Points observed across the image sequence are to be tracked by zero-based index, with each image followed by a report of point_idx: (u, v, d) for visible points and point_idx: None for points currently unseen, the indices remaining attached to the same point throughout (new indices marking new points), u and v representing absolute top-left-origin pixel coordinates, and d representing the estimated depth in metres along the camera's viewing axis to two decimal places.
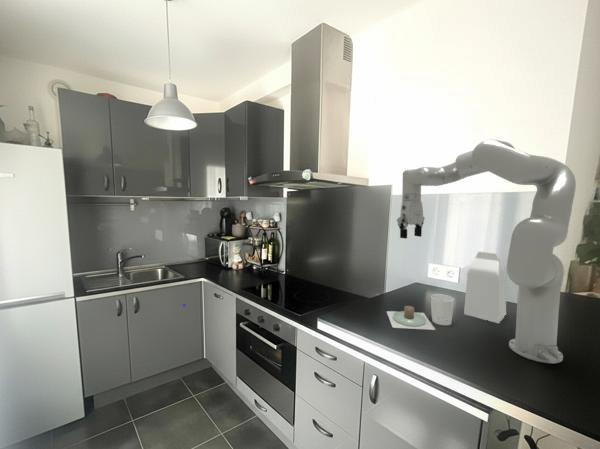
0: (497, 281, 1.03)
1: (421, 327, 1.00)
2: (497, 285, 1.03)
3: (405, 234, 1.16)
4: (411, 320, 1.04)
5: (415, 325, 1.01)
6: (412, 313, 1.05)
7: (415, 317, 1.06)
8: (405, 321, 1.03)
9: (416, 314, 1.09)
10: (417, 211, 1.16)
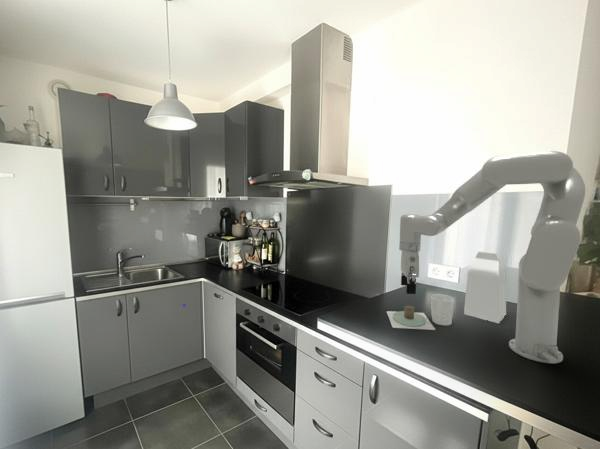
0: (497, 281, 1.03)
1: (421, 327, 1.00)
2: (497, 285, 1.03)
3: (414, 289, 1.01)
4: (411, 320, 1.04)
5: (415, 325, 1.01)
6: (412, 313, 1.05)
7: (415, 317, 1.06)
8: (405, 321, 1.03)
9: (416, 314, 1.09)
10: None
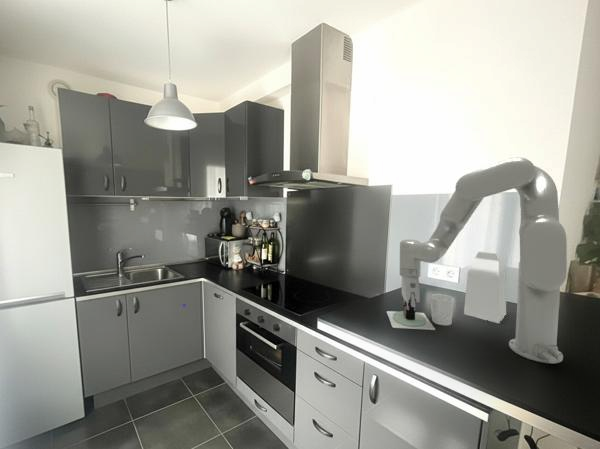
0: (497, 281, 1.03)
1: (421, 327, 1.00)
2: (497, 285, 1.03)
3: (413, 315, 1.04)
4: (411, 320, 1.04)
5: (415, 325, 1.01)
6: None
7: (415, 317, 1.06)
8: (405, 321, 1.03)
9: (416, 314, 1.09)
10: None
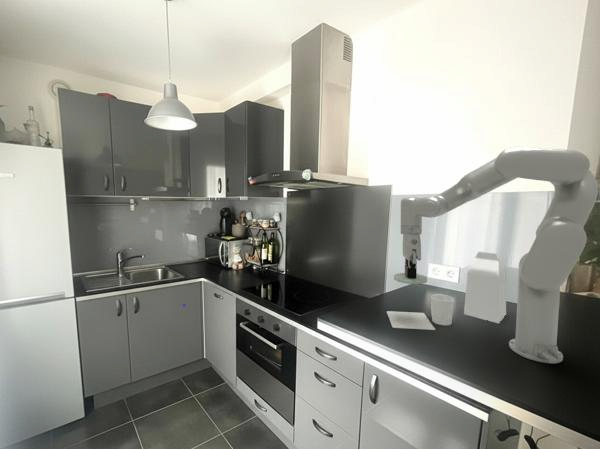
0: (497, 281, 1.03)
1: (421, 327, 1.00)
2: (497, 285, 1.03)
3: (415, 274, 1.02)
4: None
5: (416, 282, 0.99)
6: None
7: (416, 276, 1.05)
8: (406, 279, 1.02)
9: (417, 274, 1.08)
10: None
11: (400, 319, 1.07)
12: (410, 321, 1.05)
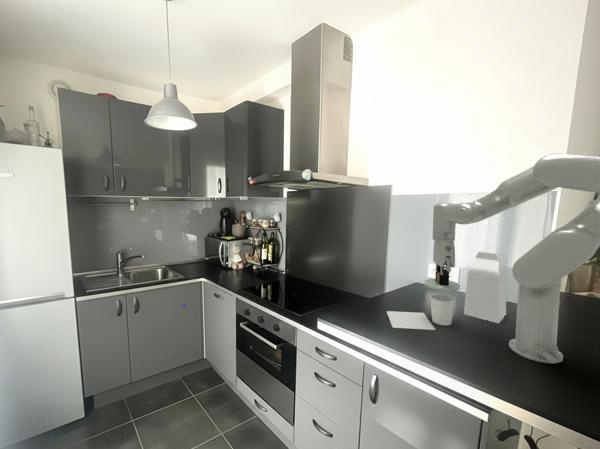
0: (497, 281, 1.03)
1: (421, 327, 1.00)
2: (497, 285, 1.03)
3: (447, 280, 1.01)
4: (445, 285, 1.01)
5: (450, 289, 0.98)
6: None
7: None
8: (439, 286, 1.00)
9: None
10: None
11: (400, 319, 1.07)
12: (410, 321, 1.05)
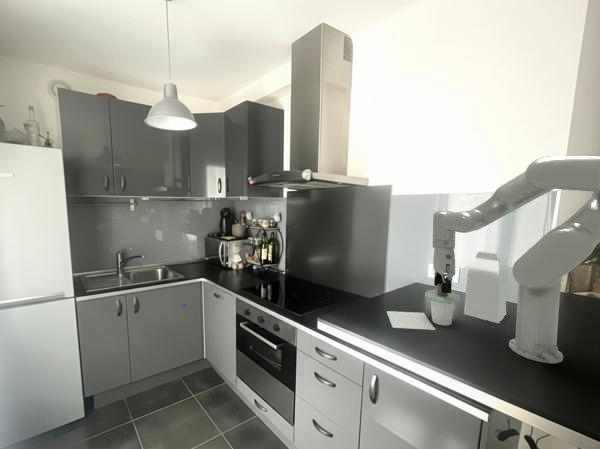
0: (497, 281, 1.03)
1: (421, 327, 1.00)
2: (497, 285, 1.03)
3: (450, 288, 0.99)
4: (445, 297, 1.01)
5: (451, 302, 0.98)
6: None
7: (448, 295, 1.04)
8: (440, 298, 1.00)
9: None
10: None
11: (400, 319, 1.07)
12: (410, 321, 1.05)
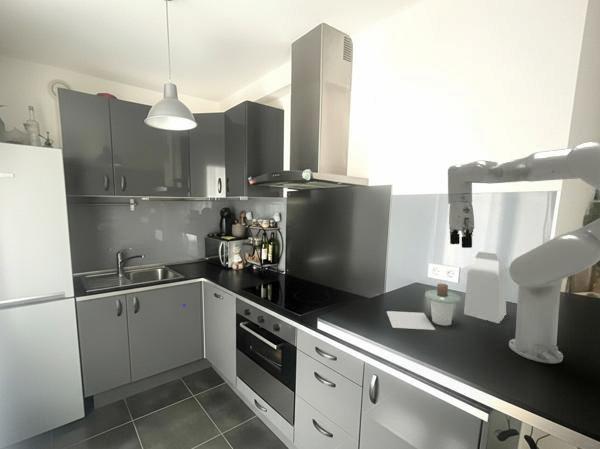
0: (497, 281, 1.03)
1: (421, 327, 1.00)
2: (497, 285, 1.03)
3: (470, 242, 0.94)
4: (445, 297, 1.01)
5: (451, 302, 0.98)
6: (446, 290, 1.02)
7: (448, 295, 1.04)
8: (439, 298, 1.00)
9: (449, 292, 1.06)
10: None
11: (400, 319, 1.07)
12: (410, 321, 1.05)
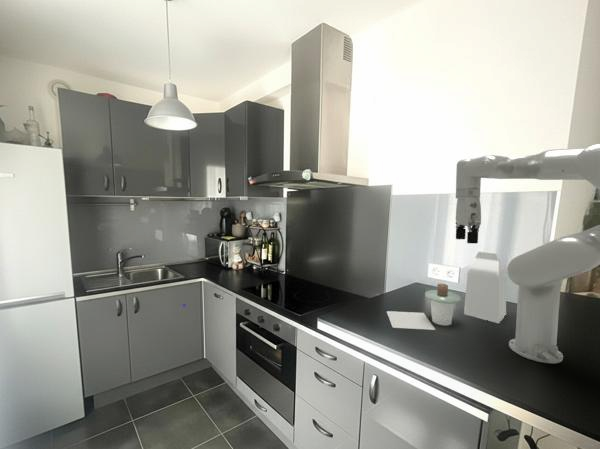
0: (497, 281, 1.03)
1: (421, 327, 1.00)
2: (497, 285, 1.03)
3: (476, 238, 0.93)
4: (445, 297, 1.01)
5: (451, 302, 0.98)
6: (446, 290, 1.02)
7: (449, 295, 1.04)
8: (439, 298, 1.00)
9: (449, 292, 1.06)
10: None
11: (400, 319, 1.07)
12: (410, 321, 1.05)
